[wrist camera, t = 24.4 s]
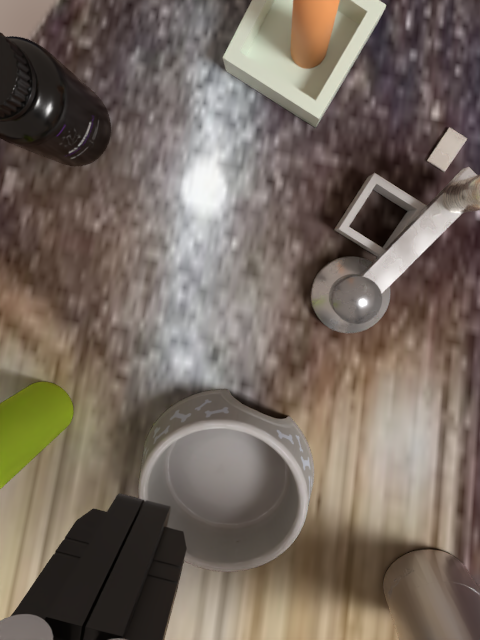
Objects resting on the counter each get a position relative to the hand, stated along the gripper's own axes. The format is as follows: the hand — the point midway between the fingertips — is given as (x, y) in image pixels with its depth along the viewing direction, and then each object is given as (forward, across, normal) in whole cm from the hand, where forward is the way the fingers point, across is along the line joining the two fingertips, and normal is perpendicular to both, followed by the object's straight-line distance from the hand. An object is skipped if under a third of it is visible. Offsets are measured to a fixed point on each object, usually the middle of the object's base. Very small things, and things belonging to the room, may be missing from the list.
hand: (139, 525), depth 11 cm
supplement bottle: (+27, +18, -14) cm, 35 cm away
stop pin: (+26, -1, -24) cm, 36 cm away
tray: (+27, 0, -24) cm, 36 cm away
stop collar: (+27, -10, -12) cm, 31 cm away
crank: (+26, -13, -10) cm, 30 cm away
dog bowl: (+28, -3, +16) cm, 32 cm away
